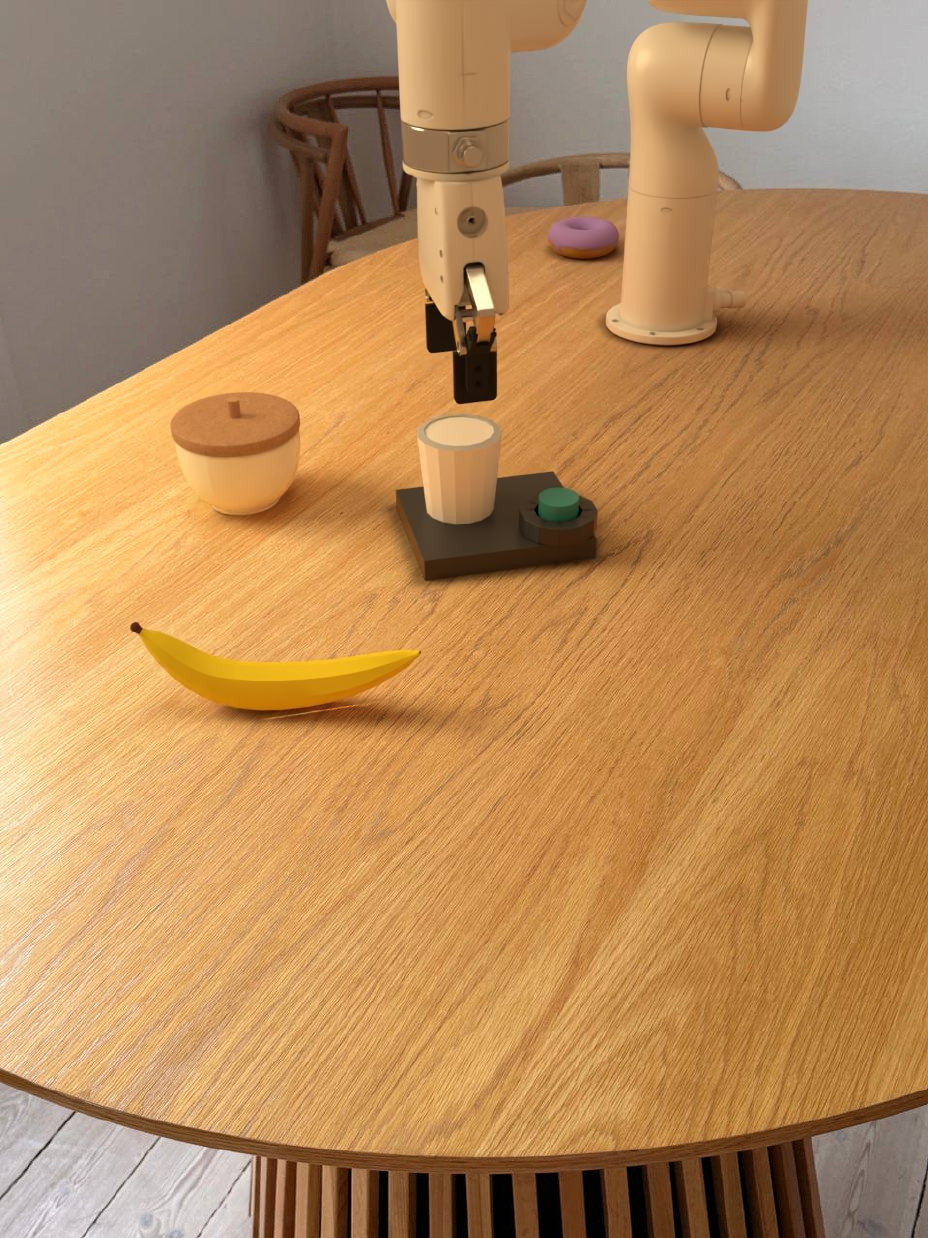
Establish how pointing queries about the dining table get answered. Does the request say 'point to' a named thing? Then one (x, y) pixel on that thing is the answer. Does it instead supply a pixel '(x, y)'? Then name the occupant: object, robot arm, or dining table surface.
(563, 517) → the button
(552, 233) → the donut
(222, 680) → the banana
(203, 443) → the cream bowl with lid
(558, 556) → the scale
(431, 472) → the cream tapered cup
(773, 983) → the dining table surface
